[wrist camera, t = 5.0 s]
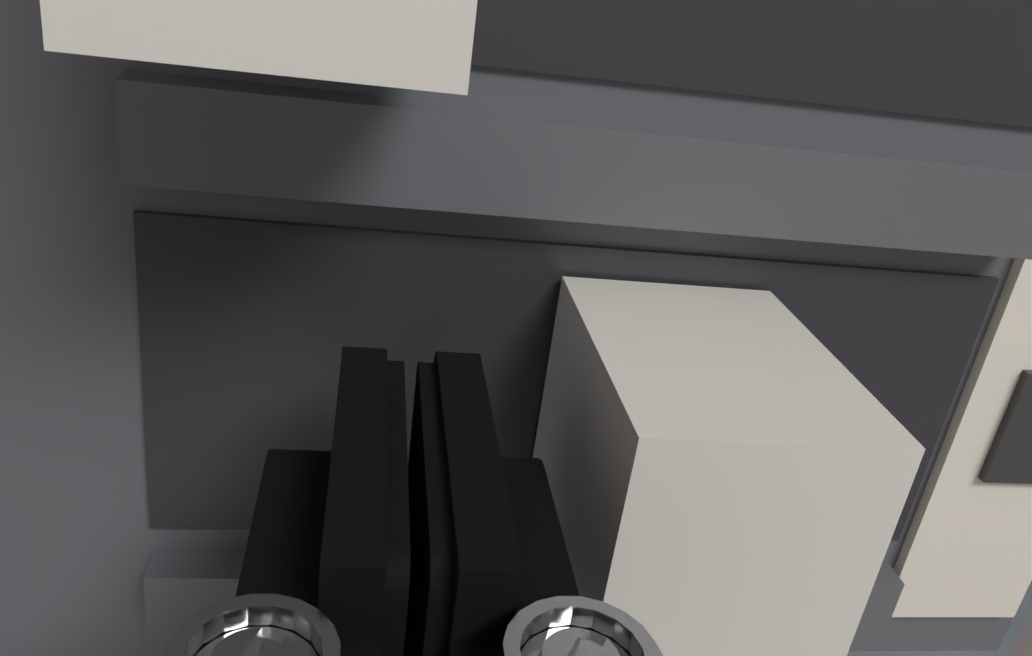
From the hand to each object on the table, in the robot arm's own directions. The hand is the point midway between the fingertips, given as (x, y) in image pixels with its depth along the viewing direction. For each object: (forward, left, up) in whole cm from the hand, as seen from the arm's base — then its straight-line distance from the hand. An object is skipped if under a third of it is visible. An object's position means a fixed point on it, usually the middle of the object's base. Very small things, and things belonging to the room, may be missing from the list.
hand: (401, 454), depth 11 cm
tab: (0, -4, -2) cm, 4 cm away
